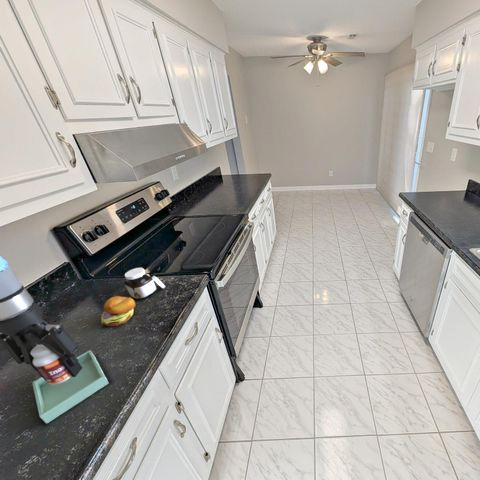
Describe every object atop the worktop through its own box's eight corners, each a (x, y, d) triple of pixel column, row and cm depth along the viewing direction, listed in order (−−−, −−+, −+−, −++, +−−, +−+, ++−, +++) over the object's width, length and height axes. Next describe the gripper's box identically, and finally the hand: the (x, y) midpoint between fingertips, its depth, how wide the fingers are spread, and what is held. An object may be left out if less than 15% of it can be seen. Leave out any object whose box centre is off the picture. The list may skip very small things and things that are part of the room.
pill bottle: (58, 388, 66) (34, 360, 62) (44, 382, 68) (19, 354, 63) (84, 367, 72) (64, 340, 67) (70, 362, 74) (49, 335, 69)
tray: (38, 388, 72) (32, 381, 71) (94, 356, 81) (90, 349, 80) (46, 423, 63) (39, 416, 62) (108, 383, 72) (104, 376, 71)
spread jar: (128, 298, 107) (116, 276, 102) (151, 282, 117) (141, 261, 111) (149, 302, 104) (138, 279, 98) (171, 286, 113) (162, 264, 108)
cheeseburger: (105, 315, 98) (101, 293, 95) (138, 310, 103) (136, 289, 100) (98, 332, 90) (94, 309, 87) (135, 326, 95) (132, 304, 92)
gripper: (68, 295, 64) (109, 357, 74) (-14, 305, 62) (39, 367, 73) (42, 316, 57) (91, 381, 67) (-51, 328, 56) (14, 392, 66)
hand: (64, 374), depth 70 cm, fingers closed on pill bottle, 6 cm apart
